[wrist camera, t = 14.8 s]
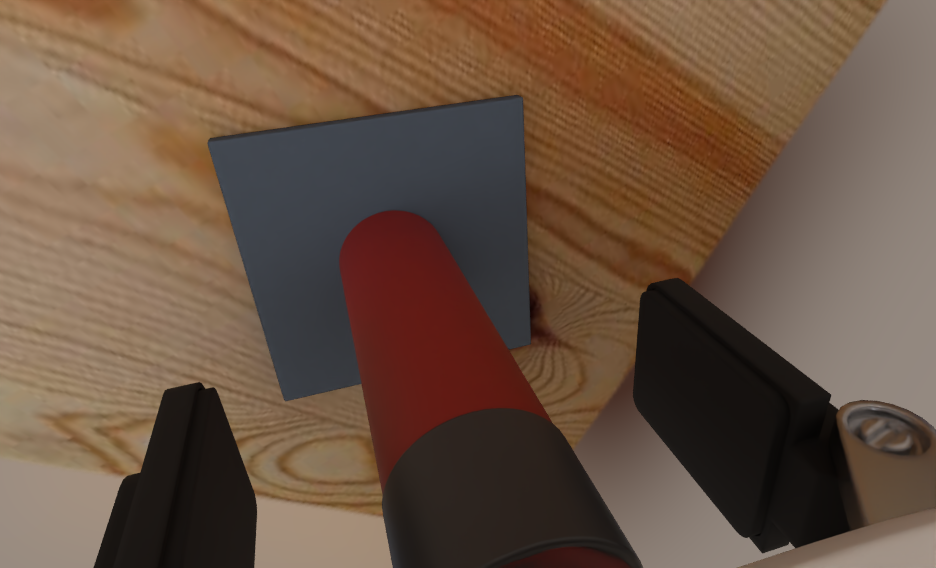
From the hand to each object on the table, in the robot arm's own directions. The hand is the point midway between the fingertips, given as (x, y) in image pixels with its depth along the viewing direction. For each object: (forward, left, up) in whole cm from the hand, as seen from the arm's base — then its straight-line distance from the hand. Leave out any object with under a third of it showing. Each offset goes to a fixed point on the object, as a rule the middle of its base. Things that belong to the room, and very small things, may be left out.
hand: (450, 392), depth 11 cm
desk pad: (0, 0, -7) cm, 7 cm away
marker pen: (0, 0, -6) cm, 6 cm away
